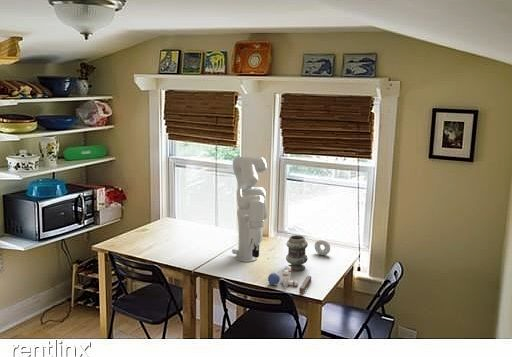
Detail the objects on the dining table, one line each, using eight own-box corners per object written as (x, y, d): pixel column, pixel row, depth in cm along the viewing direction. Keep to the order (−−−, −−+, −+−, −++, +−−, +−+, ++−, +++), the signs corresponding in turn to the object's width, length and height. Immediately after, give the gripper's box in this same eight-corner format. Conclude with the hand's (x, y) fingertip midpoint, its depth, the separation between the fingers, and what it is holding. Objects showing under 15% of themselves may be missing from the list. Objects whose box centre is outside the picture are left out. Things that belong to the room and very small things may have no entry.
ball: (277, 288, 249) (268, 287, 253) (283, 280, 253) (274, 279, 257) (273, 278, 247) (264, 277, 251) (279, 271, 251) (270, 270, 255)
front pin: (280, 281, 252) (296, 283, 249) (282, 278, 254) (298, 280, 252) (281, 285, 253) (297, 287, 251) (282, 281, 255) (298, 284, 253)
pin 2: (285, 283, 255) (285, 267, 253) (286, 281, 257) (287, 265, 255) (290, 283, 254) (290, 268, 252) (291, 281, 256) (291, 266, 255)
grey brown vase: (293, 262, 283) (294, 232, 279) (311, 267, 276) (312, 236, 272) (281, 268, 274) (282, 237, 270) (299, 274, 267) (300, 242, 263)
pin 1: (282, 287, 250) (282, 271, 248) (283, 285, 252) (284, 269, 251) (287, 287, 249) (287, 272, 248) (288, 285, 252) (289, 270, 250)
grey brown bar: (299, 293, 243) (299, 287, 243) (307, 281, 258) (307, 275, 257) (303, 294, 242) (303, 288, 242) (311, 281, 257) (311, 276, 257)
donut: (330, 255, 294) (331, 239, 292) (328, 257, 291) (329, 241, 289) (315, 252, 299) (316, 236, 297) (313, 254, 296) (313, 238, 294)
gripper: (254, 218, 261) (253, 250, 265) (244, 226, 247) (243, 260, 251) (267, 219, 258) (267, 252, 263) (258, 228, 245) (257, 263, 249)
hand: (255, 256), depth 257 cm, fingers closed
